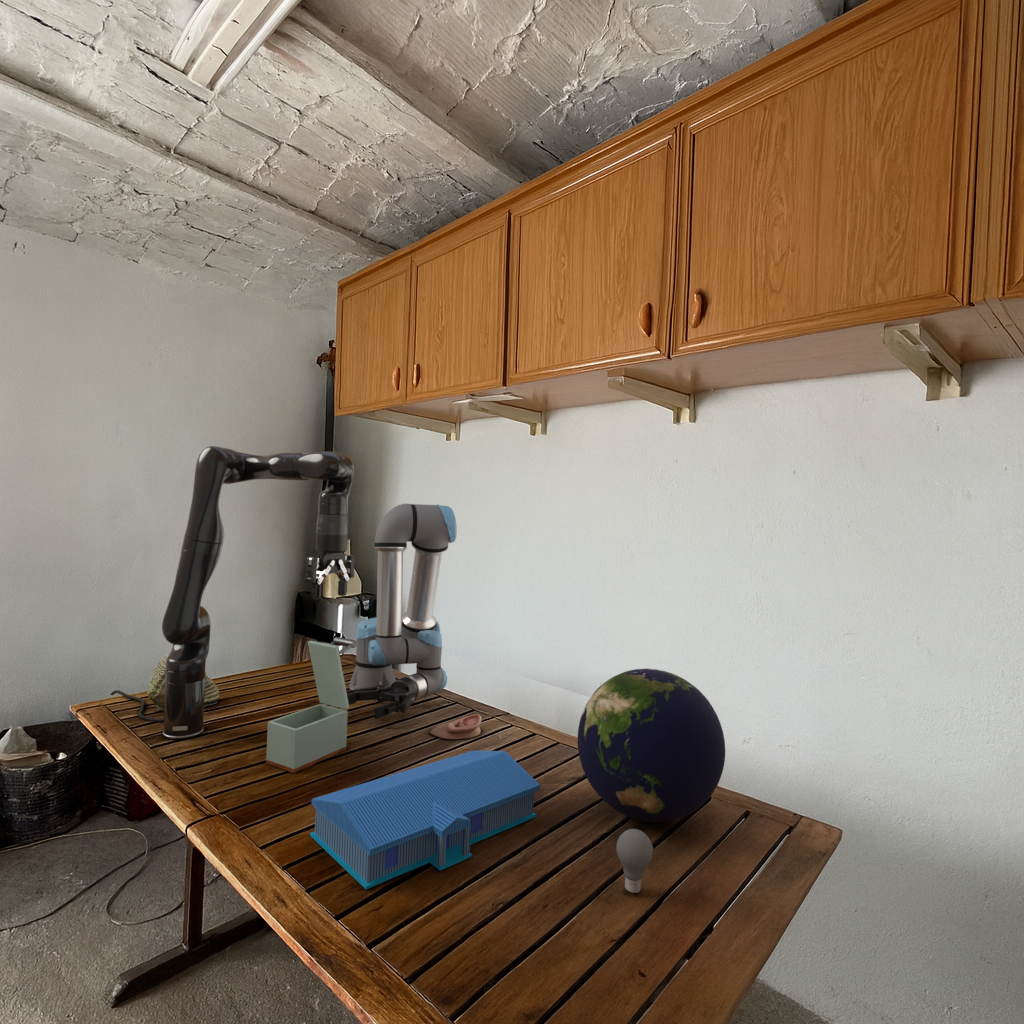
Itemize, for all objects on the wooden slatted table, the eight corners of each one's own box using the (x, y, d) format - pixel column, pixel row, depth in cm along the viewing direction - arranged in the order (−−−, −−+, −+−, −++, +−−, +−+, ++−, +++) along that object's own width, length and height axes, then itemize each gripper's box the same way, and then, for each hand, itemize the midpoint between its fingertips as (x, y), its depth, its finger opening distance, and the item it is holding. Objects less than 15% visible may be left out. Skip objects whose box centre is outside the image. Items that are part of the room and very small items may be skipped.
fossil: (144, 707, 182) (145, 655, 182) (212, 696, 194) (213, 647, 194) (151, 716, 175) (153, 662, 175) (221, 703, 188) (223, 653, 188)
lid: (334, 647, 154) (359, 632, 161) (307, 642, 158) (332, 627, 166) (346, 709, 158) (369, 691, 166) (319, 702, 163) (343, 685, 170)
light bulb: (610, 879, 108) (613, 822, 108) (644, 879, 109) (647, 822, 109) (619, 902, 102) (622, 840, 102) (655, 901, 103) (658, 840, 103)
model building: (376, 899, 100) (378, 836, 100) (308, 834, 119) (310, 781, 118) (548, 822, 127) (550, 773, 127) (472, 779, 145) (474, 735, 145)
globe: (555, 830, 124) (562, 678, 123) (594, 772, 152) (600, 647, 151) (715, 870, 113) (723, 702, 112) (726, 799, 140) (732, 664, 140)
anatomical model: (426, 721, 169) (440, 708, 180) (425, 736, 169) (439, 722, 181) (474, 727, 167) (485, 713, 178) (473, 742, 167) (484, 727, 178)
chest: (294, 773, 144) (295, 730, 144) (266, 763, 149) (267, 721, 149) (346, 749, 159) (347, 710, 159) (319, 741, 164) (320, 703, 163)
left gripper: (321, 534, 150) (319, 602, 150) (363, 532, 162) (360, 595, 162) (299, 532, 153) (296, 599, 153) (341, 531, 166) (339, 592, 166)
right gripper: (441, 710, 181) (391, 732, 163) (375, 694, 194) (322, 712, 175) (442, 684, 181) (393, 703, 163) (376, 669, 193) (323, 685, 175)
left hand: (329, 597), depth 158 cm, fingers open, 8 cm apart
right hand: (356, 708), depth 169 cm, fingers open, 13 cm apart
